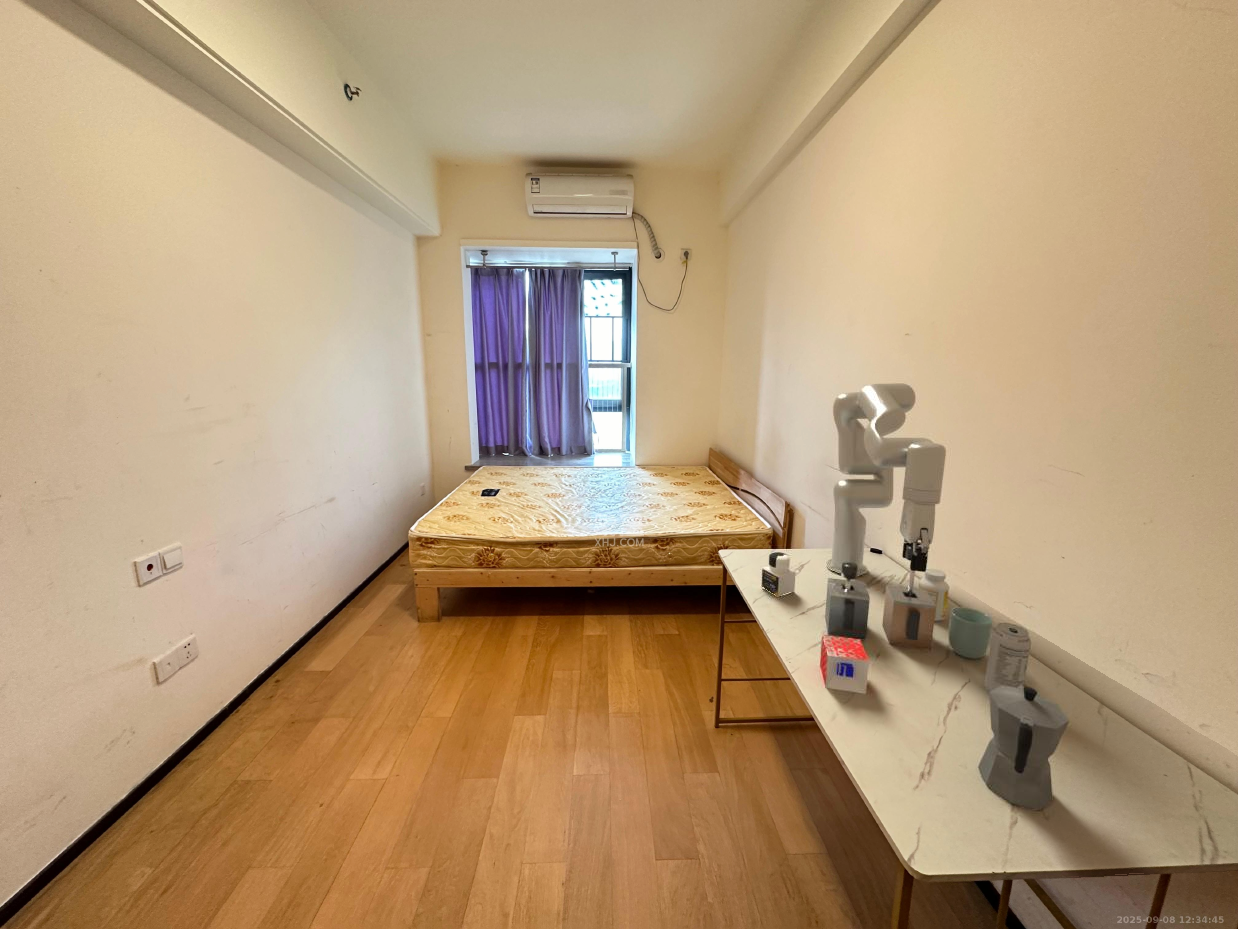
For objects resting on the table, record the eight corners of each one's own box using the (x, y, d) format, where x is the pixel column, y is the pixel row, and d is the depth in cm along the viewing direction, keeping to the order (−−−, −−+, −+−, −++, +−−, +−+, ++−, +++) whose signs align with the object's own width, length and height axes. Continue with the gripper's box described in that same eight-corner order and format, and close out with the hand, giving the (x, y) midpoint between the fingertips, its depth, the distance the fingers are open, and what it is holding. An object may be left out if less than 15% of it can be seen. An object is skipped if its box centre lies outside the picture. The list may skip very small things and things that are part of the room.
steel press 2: (882, 625, 120) (886, 584, 118) (920, 631, 117) (925, 589, 115) (890, 647, 111) (895, 603, 109) (932, 654, 108) (938, 609, 106)
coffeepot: (981, 745, 82) (995, 656, 78) (1052, 775, 75) (1071, 680, 72) (970, 804, 71) (986, 705, 67) (1053, 845, 65) (1075, 738, 61)
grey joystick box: (825, 617, 125) (827, 577, 123) (860, 622, 122) (864, 582, 120) (828, 637, 116) (831, 595, 113) (866, 643, 113) (870, 600, 110)
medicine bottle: (760, 588, 143) (762, 552, 140) (778, 583, 146) (779, 548, 143) (777, 598, 136) (779, 561, 134) (795, 592, 139) (797, 556, 137)
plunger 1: (830, 612, 123) (834, 558, 120) (856, 616, 121) (861, 561, 118) (833, 625, 117) (837, 568, 114) (860, 629, 115) (865, 571, 112)
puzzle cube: (857, 670, 103) (860, 639, 101) (865, 694, 96) (869, 660, 94) (819, 665, 105) (821, 634, 104) (825, 687, 98) (827, 655, 96)
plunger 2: (891, 598, 117) (897, 541, 114) (920, 602, 115) (926, 544, 112) (897, 611, 111) (903, 551, 108) (927, 615, 109) (934, 553, 106)
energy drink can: (1017, 689, 95) (1028, 625, 92) (1024, 707, 90) (1036, 640, 87) (981, 680, 98) (991, 618, 95) (986, 697, 93) (996, 632, 90)
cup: (994, 665, 103) (1000, 625, 101) (956, 661, 105) (961, 622, 103) (975, 645, 111) (980, 608, 109) (939, 642, 112) (944, 605, 110)
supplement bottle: (936, 609, 127) (941, 567, 125) (950, 622, 121) (956, 578, 118) (911, 609, 128) (915, 566, 126) (924, 621, 122) (929, 577, 119)
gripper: (895, 485, 116) (888, 549, 120) (912, 503, 100) (904, 577, 104) (929, 486, 114) (921, 552, 117) (952, 506, 98) (942, 581, 102)
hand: (913, 563), depth 111 cm, fingers open, 6 cm apart
